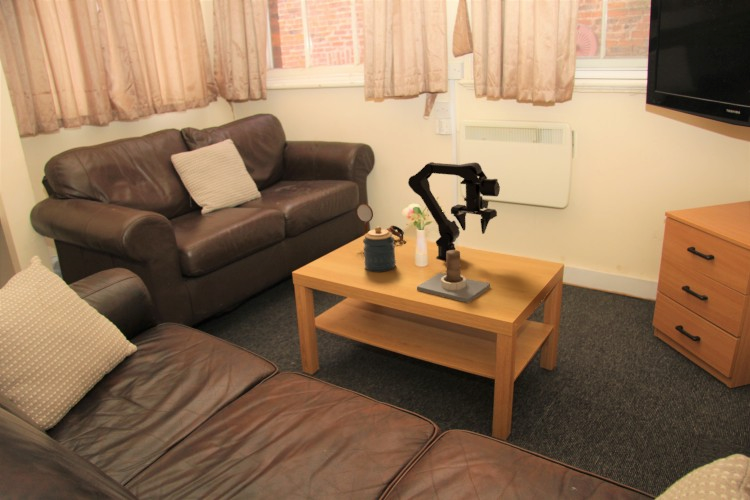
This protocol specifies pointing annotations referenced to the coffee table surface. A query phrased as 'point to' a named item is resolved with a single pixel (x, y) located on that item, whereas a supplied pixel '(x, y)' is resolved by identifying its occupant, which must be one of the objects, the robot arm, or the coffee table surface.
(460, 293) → the base board
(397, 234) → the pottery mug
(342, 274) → the coffee table surface
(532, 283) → the coffee table surface
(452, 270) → the walnut column
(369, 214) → the magnifying glass
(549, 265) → the coffee table surface
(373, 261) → the canister
